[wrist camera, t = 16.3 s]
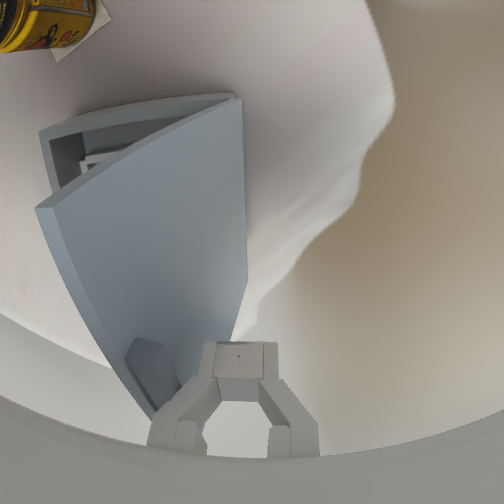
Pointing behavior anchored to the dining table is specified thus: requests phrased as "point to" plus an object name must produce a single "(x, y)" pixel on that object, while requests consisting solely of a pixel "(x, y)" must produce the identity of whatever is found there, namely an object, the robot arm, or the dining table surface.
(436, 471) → the robot arm
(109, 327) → the lid
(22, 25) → the condiment
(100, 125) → the housing
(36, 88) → the dining table surface
